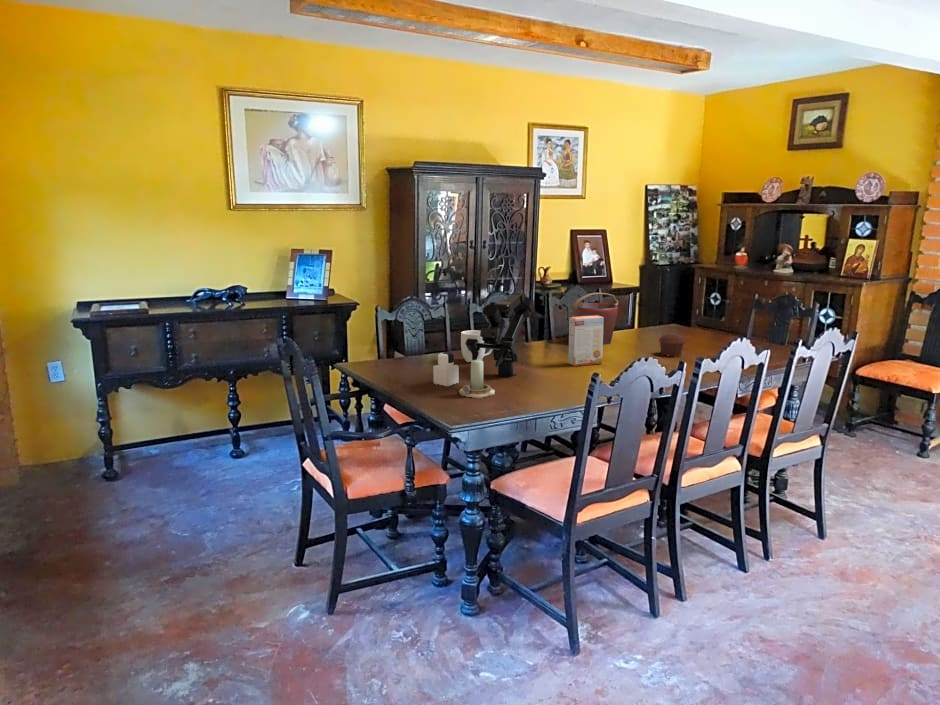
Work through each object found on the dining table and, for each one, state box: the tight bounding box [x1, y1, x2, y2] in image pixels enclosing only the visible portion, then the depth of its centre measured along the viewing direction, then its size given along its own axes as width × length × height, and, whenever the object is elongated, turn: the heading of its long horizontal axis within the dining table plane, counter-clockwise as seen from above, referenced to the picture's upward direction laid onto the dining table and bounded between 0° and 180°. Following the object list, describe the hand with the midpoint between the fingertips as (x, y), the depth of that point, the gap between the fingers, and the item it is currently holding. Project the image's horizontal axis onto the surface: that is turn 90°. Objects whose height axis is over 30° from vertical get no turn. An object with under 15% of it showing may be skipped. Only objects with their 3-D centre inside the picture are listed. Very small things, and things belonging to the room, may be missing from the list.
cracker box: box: [567, 315, 604, 367], centre depth 296 cm, size 14×6×21 cm, turn 109°
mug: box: [460, 329, 493, 363], centre depth 302 cm, size 15×11×13 cm
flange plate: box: [458, 383, 496, 399], centre depth 251 cm, size 13×13×4 cm
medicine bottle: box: [432, 351, 460, 387], centre depth 264 cm, size 7×7×12 cm
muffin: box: [658, 332, 686, 357], centre depth 316 cm, size 12×11×10 cm
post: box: [470, 359, 484, 390], centre depth 250 cm, size 5×5×11 cm
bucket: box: [572, 292, 619, 346], centre depth 343 cm, size 24×22×25 cm
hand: (484, 365), depth 256 cm, fingers open, 9 cm apart
